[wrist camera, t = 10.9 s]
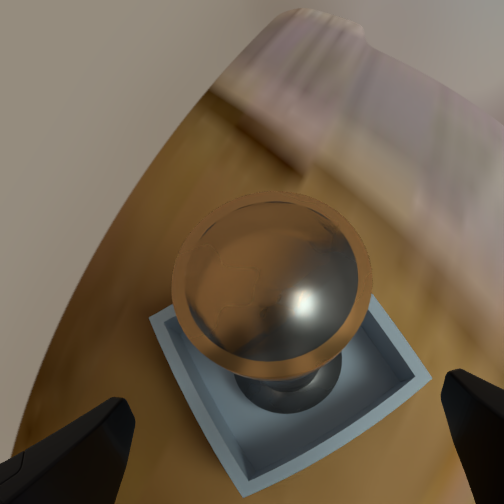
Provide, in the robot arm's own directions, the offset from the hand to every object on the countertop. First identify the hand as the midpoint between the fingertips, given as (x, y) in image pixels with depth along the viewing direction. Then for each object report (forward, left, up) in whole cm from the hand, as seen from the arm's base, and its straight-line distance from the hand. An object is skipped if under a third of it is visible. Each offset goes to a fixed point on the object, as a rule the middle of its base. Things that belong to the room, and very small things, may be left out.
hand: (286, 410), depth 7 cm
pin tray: (+3, -1, -11) cm, 11 cm away
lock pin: (+3, -1, -10) cm, 10 cm away
